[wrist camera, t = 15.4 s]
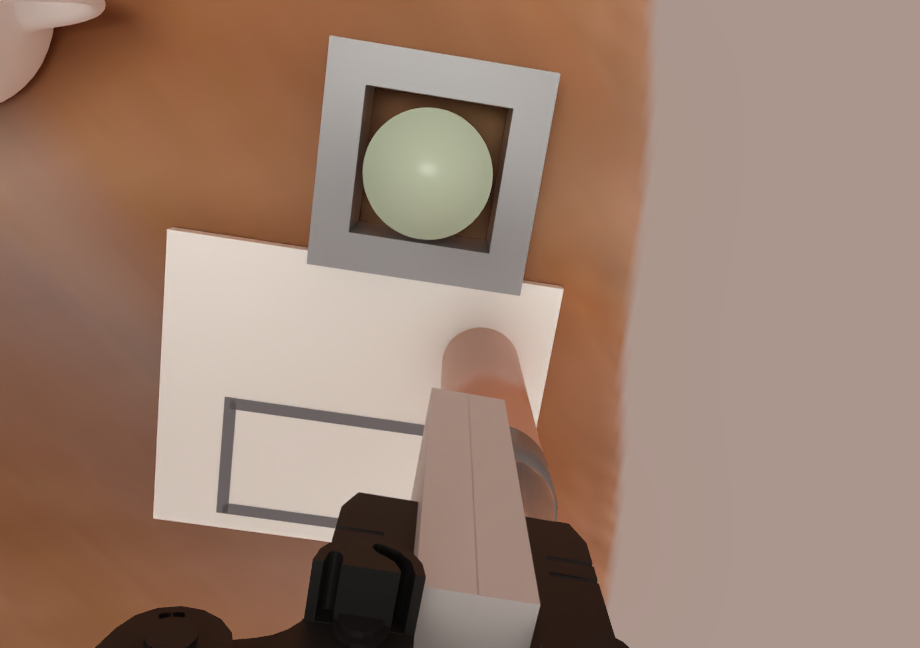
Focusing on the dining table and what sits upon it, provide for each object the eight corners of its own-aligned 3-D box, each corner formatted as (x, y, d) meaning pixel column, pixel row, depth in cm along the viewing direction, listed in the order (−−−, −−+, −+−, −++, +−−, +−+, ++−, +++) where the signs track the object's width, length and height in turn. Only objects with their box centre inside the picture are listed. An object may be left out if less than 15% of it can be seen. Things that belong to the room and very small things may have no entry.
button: (365, 217, 29) (355, 229, 26) (379, 99, 28) (370, 97, 25) (478, 235, 29) (481, 248, 26) (498, 117, 28) (502, 118, 25)
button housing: (320, 249, 31) (306, 263, 28) (342, 42, 28) (329, 35, 26) (514, 278, 31) (519, 296, 28) (550, 77, 29) (560, 73, 26)
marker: (434, 393, 32) (421, 556, 20) (449, 319, 31) (445, 445, 19) (510, 407, 32) (542, 576, 20) (527, 334, 31) (570, 466, 19)
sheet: (158, 511, 34) (152, 518, 33) (172, 227, 30) (166, 229, 30) (508, 558, 35) (509, 566, 34) (561, 286, 31) (563, 289, 30)
